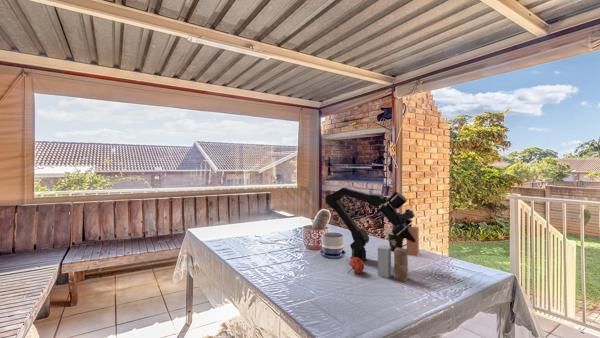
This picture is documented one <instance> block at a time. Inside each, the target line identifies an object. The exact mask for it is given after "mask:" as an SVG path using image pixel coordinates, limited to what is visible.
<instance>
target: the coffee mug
mask: <svg viewBox="0 0 600 338" xmlns="http://www.w3.org/2000/svg"><path fill="white" fill-rule="evenodd" d="M398 234H400V233H398ZM398 234H397V235H396V236H394V234H393V233H392V231H389V232H387V237H388V244H389V245H388V246H389V247H391V252H392V251H393V253H394V250H395V249H396V248H404V247H405V246H406V247H407V243H406V244H404V243H403V242H404V240H405V238H403V237H401V236H398Z"/></svg>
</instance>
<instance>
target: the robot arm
mask: <svg viewBox="0 0 600 338" xmlns="http://www.w3.org/2000/svg"><path fill="white" fill-rule="evenodd" d="M345 196H346V197H350V198H353V199H356V200H358V201H359V200H360V201H363V202H365V203H367V204H369V205H371V206H373V207H376V215H379V214H380V213H381V214H382V215H383V217H384V218H386V220H388V221H387V222H388V224H389V223H390V224H391V225H392V226H393V229H391V232H392V233H393V234H394V236H396V235H397V234H398V233H400V234H398V236H401V237H403V238H404V240H407V239H408V240H410V241H412V242H415V239H414V238H413V236H412V235H411V234H410V232H409V231H408V226H410V227H413V226H412V225H413V223H412V222H413V220H412V219H413V218H415V213H414V211H413V210H412V209H409V208H408V209H405V211H404V212H403V213H401V212H397V211H396V209H397V210H399V209H400V208H401V207H403V206H404V204H406V203H407V202H408V200H407V199H406V197H405V196H404V195H403V194H401V193H399V192H398V191H394V192H393V194H392V195H391V196H389V197H385V196H383V194H379V193H367V192H363V191H359V190H356V189H353V188H352V189H351V188H348V187H341V188H340V189H339V190H337V191H335V192H333V193H331V194H326V195H325V199H324V201H325V203H326V204H327V205H328V207H330V208H331V209H332V210H334V211H335V212H336V214H337V215H338V217H339V218H340V219H341V220H342V222H343V223H344V224H345V226H346V228H347V229H348V230H349V231H350V233H351V238H352V240H353V242H352V243H350V244H349V246H350V248H351V256H350V260H351V259H352V258H353V257H357V258H360V259H363V258H364V259H363V262H366V261H368V259H367V250H366V245H367V244H369V242H370V237H369V235H370V233H367V231H366V230H365V228H364V227H363V228H362V229H361V228H360V227H359V226H358V225H357V223H356V222H355V221H354V220H353V218H352V217H351V216H350V214H349V213H348V211H347V210H346V208H344V206H343V202H342V199H343V198H344V197H345ZM385 204H386V205H385ZM377 207H380V208H377Z"/></svg>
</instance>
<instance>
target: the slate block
mask: <svg viewBox="0 0 600 338" xmlns="http://www.w3.org/2000/svg"><path fill="white" fill-rule="evenodd" d="M391 275H392V251H391V247H390V245H381V244H380V246H378V247H377V276H378V277H381V278H386V279H389V278H390V277H391Z"/></svg>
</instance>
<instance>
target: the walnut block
mask: <svg viewBox="0 0 600 338" xmlns="http://www.w3.org/2000/svg"><path fill="white" fill-rule="evenodd" d="M393 253H394V254H393V256H394V257H393V258H394V259H393V260H394V263H393V264H394V267H393V268H394V271H393V272H394V273H393V274H394V275H393V276H394V280H395V281H400V282H401V281H402V282H406V281H407V280H408V278H409V277H408V276H409V274H408V272H409V271H408V262H409V261H408V256H409V255H407V248H404V247H402V248H396V249H395V250H394V252H393Z"/></svg>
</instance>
